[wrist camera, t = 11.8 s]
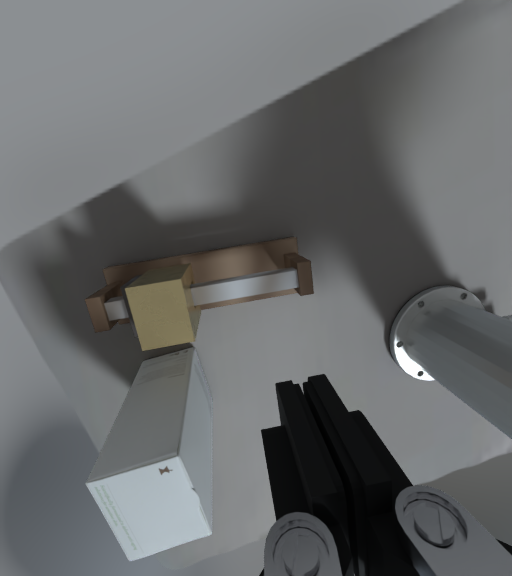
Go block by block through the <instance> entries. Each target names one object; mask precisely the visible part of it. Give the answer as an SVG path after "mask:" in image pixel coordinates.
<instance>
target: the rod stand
mask: <svg viewBox="0 0 512 576" xmlns="http://www.w3.org/2000/svg"><path fill="white" fill-rule="evenodd" d="M187 263H191V266H192V270H193V275H194V280H195V284H191V285H190V289H191V293H192V298H193V302H194V306H196V305H200V308H201V310H204V309H209V308H215V307H221V306H226V305H232V304H237V303H243V302H249V301H254V300H260V299H266V298H271V297H277V296H282V295H288V294H294V293H298V294H299V295H300V296H303V295H309V294H314V291H313V281H312V271H311V261H310V260H308V259H306V258H304V257H302V256H300V255H298V246H297V238H296V237H288V238H282V239H276V240H270V241H264V242H258V243H252V244H245V245H239V246H233V247H227V248H221V249H215V250H209V251H202V252H196V253H190V254H184V255H178V256H172V257H166V258H160V259H153V260H147V261H141V262H135V263H129V264H123V265H117V266H110V267H107V268H105V269H103V273H104V276H105V280H106V283H107V286H105V287H104V288H102V289H101V290H99V291H97V292H96V293H94V294H93V295H91V296H89V297H88V298H86V299H85V302H86V305H87V308H88V311H89V314H90V317H91V320H92V323H93V326H94V329H95V332H102V331H108V330H110V329H111V328H112V327H113V326H114V325H115V324H116V323H117V322H118V323H119V324H125V323H131V326H132V330H133V333H134V337H138V334H137V330H136V327H135V323H134V320H133V316H132V312H131V309H130V305H129V302H128V298H127V295H126V291H125V288H126V287H127V286H129V285H130V284H131V283H132V282H134V281H135V280H136V279H138V278H139V277H140V276H142V275H143V274H144V273H145V272H147V271H148V270H151V269H157V268H163V267H169V266H175V265H181V264H187Z"/></svg>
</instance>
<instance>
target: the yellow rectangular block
mask: <svg viewBox="0 0 512 576" xmlns="http://www.w3.org/2000/svg"><path fill="white" fill-rule="evenodd" d="M191 284H195V280H194V275H193V270H192V266H191V263H187V264H181V265H175V266H169V267H163V268H157V269H151V270H148V271H147V272H145V273H144V274H143V275H142V276H140V277H139V278H138V279H136V280H135V281H134V282H132V283H131V284H130V285H129V286H127V287H126V288H125V291H126V295H127V298H128V302H129V305H130V309H131V312H132V316H133V320H134V323H135V327H136V330H137V334H138V337H139V341H140V344H141V348H142V351H145V350H151V349H156V348H161V347H167V346H172V345H178V344H183V343H188V342H194V341H195V338H196V334H197V329H198V324H199V319H200V315H201V308H200V305H196V306H194V302H193V298H192V293H191V289H190V285H191Z"/></svg>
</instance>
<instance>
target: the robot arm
mask: <svg viewBox="0 0 512 576" xmlns="http://www.w3.org/2000/svg"><path fill="white" fill-rule="evenodd" d="M390 350H391V354H392V356H393V358H394V360H395V362H396V363H397V365H398V366H399V367H400V368H401V369H402V370H403V371H405V372H406V373H407V374H409V375H410V376H412V377H414V378H417V379H421V380H436V381H437V382H439V383H440V384H441V385H443V386H444V387H445V388H446V389H448V390H449V391H450V392H452V393H453V394H454V395H455V396H457V397H458V398H459V399H461V400H462V401H463V402H464V403H466V404H467V405H468V406H470V407H471V408H472V409H473V410H475V411H476V412H477V413H479V414H480V415H481V416H482V417H484V418H485V419H486V420H488V421H489V422H490V423H491V424H493V425H494V426H495V427H497V428H498V429H499V430H500V431H502V432H503V433H504V434H506V435H507V436H508V437H509V438H511V439H512V315H508V316H503V317H501V316H498V315H495V314H492V313H490V312H487V311H485V308H484V306H483V305H482V303H481V301H480V300H479V299H478V298H477V297H476V296H475V295H474V294H472V293H471V292H469V291H467V290H464V289H461V288H458V287H454V286H437V287H432V288H430V289H427V290H424V291H422V292H421V293H419V294H417V295H416V296H414V297H413V298H412V299H411V300H409V301H408V302H407V303H406V304H405V305H404V307H403V308H402V309H401V310H400V312H399V313H398V315H397V316H396V318H395V320H394V323H393V325H392V328H391V333H390ZM303 391H304V394H303V392H302V390H301V387H300V385H299V384H293V382H292V381H291V380H290V381H285V382H279V383H276V393H277V400H278V407H279V414H280V421H281V426H277V427H273V428H268V429H263V430H261V433H262V439H263V445H264V451H265V457H266V463H267V469H268V475H269V481H270V486H271V492H272V498H273V504H274V510H275V516H276V522H275V524H274V525H273V526H272V527H271V529H270V531H269V533H268V535H267V538H266V543H265V550H264V569H263V570H262V572H261V574H260V575H259V576H354V574H355V576H512V546H510V545H508V544H506V543H503V542H502V541H499V540H497V539H495V538H494V537H493V536H492V535H491V534H490V533H489V532H488V531H487V530H486V529H485V528H484V527H483V526H482V525H481V524H480V523H479V522H478V521H477V520H476V519H475V518H474V517H473V516H472V515H471V514H470V513H469V512H468V511H467V510H466V509H465V508H464V507H463V506H462V505H461V504H460V503H459V502H457V501H456V500H455V499H454V498H452V497H451V496H450V495H448V494H446V493H444V492H443V491H441V490H438V489H435V488H432V487H429V486H422V485H415V486H413V485H412V483H411V482H410V481H409V479H408V478H407V476H406V475H405V473H404V472H403V470H402V469H401V468H400V466H399V465H398V463H397V462H396V460H395V459H394V458H393V456H392V455H391V453H390V452H389V450H388V449H387V448H386V446H385V445H384V443H383V442H382V440H381V439H380V438H379V436H378V435H377V433H376V432H375V430H374V429H373V427H372V426H371V425H370V423H369V422H368V420H367V419H366V417H365V416H364V415H363V413H362V412H361V411H359V410H357V411H352V412H348V410H347V409H346V407H345V405H344V404H343V402H342V401H341V399H340V398H339V396H338V394H337V393H336V391H335V390H334V388H333V386H332V385H331V383H330V382H329V380H328V379H327V377H326V376H325V374H321V375H316V376H311V377H308V382H303Z"/></svg>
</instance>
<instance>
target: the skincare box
mask: <svg viewBox="0 0 512 576" xmlns="http://www.w3.org/2000/svg"><path fill="white" fill-rule="evenodd" d="M212 416H213V400H212V396H211V393H210V390H209V387H208V384H207V381H206V378H205V376H204V373H203V370H202V367H201V364H200V361H199V358H198V355H197V353H196V350H195V348H194V347H191V348H188V349H184V350H181V351H177V352H173V353H170V354H166V355H163V356H159V357H156V358H152V359H148V360H145V361H143V362H142V364H141V366H140V369H139V370H138V373H137V375H136V377H135V379H134V381H133V383H132V386H131V388H130V390H129V392H128V394H127V396H126V398H125V401H124V403H123V405H122V407H121V409H120V411H119V414H118V416H117V418H116V420H115V422H114V424H113V427H112V429H111V431H110V433H109V435H108V437H107V439H106V441H105V444H104V446H103V448H102V450H101V452H100V454H99V457H98V460H97V461H96V463H95V465H94V467H93V469H92V471H91V474H90V476H89V478H88V480H87V482H86V485H87V487H88V489H89V491H90V492H91V494H92V496H93V497H94V499H95V501H96V503H97V504H98V506H99V508H100V510H101V511H102V513H103V515H104V517H105V518H106V520H107V522H108V524H109V526H110V527H111V529H112V531H113V532H114V534H115V536H116V538H117V540H118V542H119V543H120V545H121V547H122V549H123V551H124V552H125V554H126V556H127V558H128V560H129V561H133V560H136V559H140V558H143V557H146V556H149V555H152V554H155V553H157V552H160V551H163V550H166V549H169V548H172V547H174V546H177V545H180V544H183V543H186V542H189V541H193V540H196V539H199V538H202V537H205V536H209V535H211V534H212Z"/></svg>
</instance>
